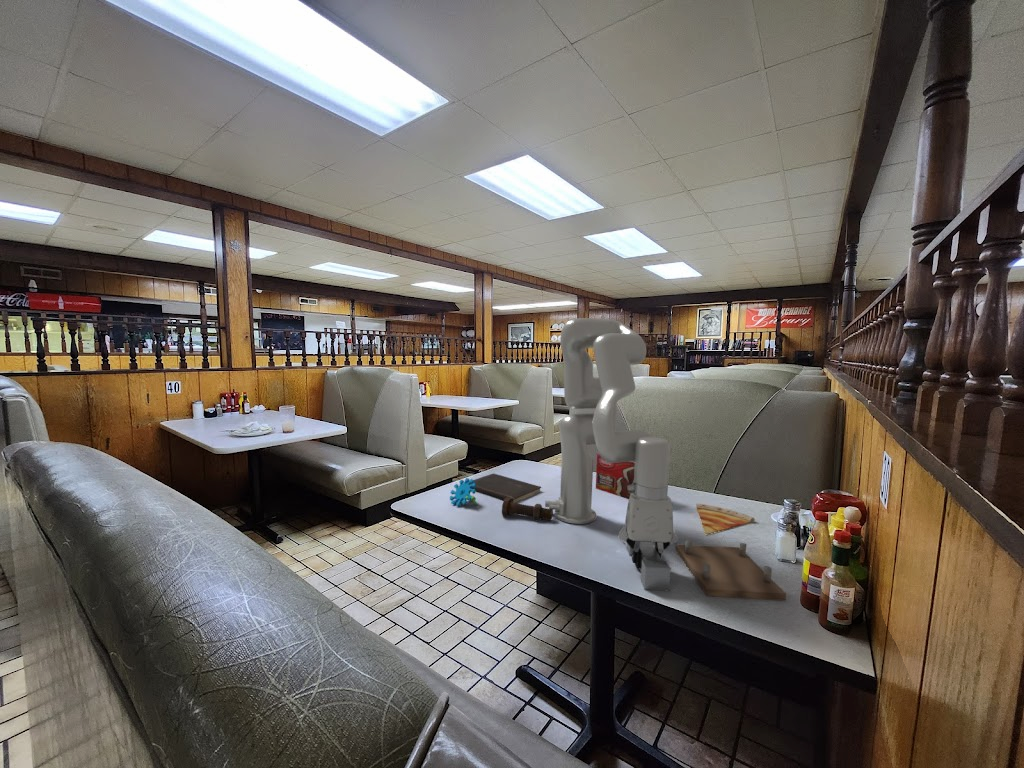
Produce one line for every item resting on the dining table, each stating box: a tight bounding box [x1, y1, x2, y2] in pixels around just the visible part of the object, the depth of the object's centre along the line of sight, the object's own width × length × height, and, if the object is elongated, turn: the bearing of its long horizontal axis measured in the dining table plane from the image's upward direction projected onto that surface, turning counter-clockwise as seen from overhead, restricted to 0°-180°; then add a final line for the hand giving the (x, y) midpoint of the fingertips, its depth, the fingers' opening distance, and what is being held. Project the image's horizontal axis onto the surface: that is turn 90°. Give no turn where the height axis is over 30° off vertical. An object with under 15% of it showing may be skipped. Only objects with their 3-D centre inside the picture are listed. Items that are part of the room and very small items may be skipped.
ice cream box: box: [595, 452, 635, 500], centre depth 147 cm, size 20×6×13 cm, turn 42°
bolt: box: [501, 497, 554, 521], centre depth 126 cm, size 6×5×15 cm
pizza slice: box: [695, 503, 756, 535], centre depth 128 cm, size 16×22×2 cm
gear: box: [449, 477, 479, 507], centre depth 137 cm, size 11×6×10 cm
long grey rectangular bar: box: [626, 534, 672, 592], centre depth 98 cm, size 5×18×5 cm, turn 177°
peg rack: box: [675, 539, 787, 601], centre depth 97 cm, size 16×20×4 cm
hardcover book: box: [467, 473, 542, 503], centre depth 150 cm, size 16×23×2 cm
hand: (646, 565), depth 98 cm, fingers closed on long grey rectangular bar, 3 cm apart
